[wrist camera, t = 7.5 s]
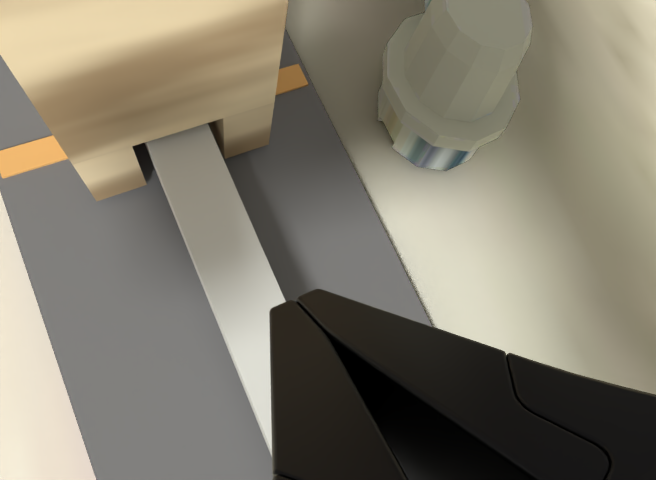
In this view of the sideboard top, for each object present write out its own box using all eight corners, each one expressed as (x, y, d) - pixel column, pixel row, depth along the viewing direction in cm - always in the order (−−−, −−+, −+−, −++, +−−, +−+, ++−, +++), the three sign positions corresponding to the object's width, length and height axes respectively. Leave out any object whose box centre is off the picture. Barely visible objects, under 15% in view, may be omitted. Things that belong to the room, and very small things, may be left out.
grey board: (544, 569, 18) (614, 604, 15) (207, 793, 15) (199, 905, 12) (216, -100, 24) (213, -181, 21) (-74, -44, 21) (-131, -129, 18)
